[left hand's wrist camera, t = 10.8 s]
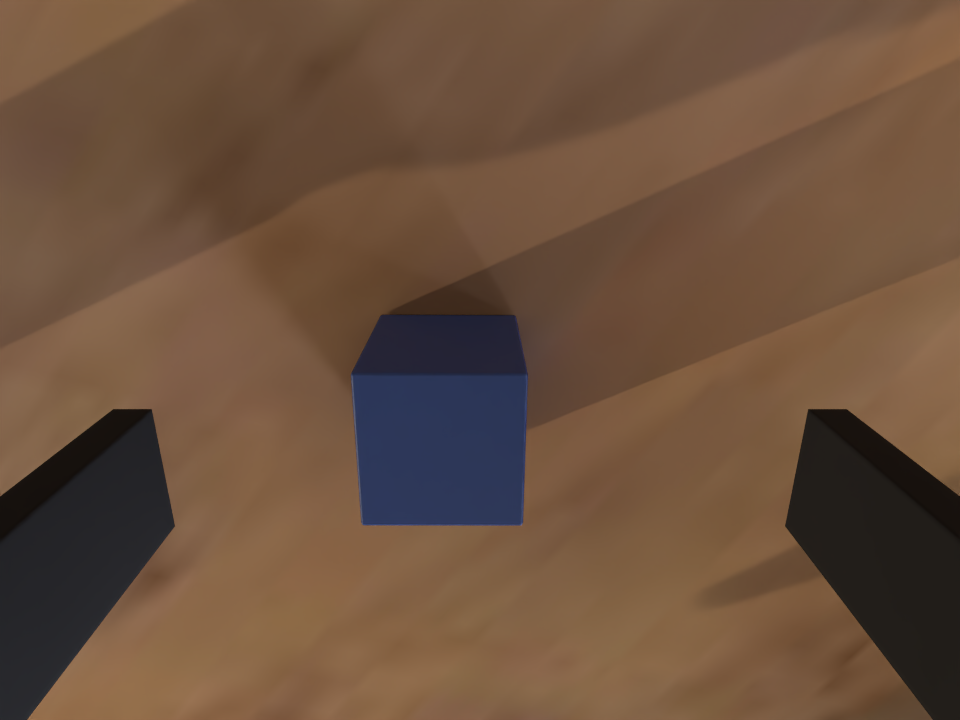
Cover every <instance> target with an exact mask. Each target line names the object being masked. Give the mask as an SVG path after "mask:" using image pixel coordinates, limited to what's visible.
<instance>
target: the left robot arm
mask: <svg viewBox="0 0 960 720" xmlns="http://www.w3.org/2000/svg"><path fill="white" fill-rule="evenodd" d="M174 527H175V525H174V520H173V514H172V509H171V504H170V499H169V494H168V489H167V484H166V479H165V474H164V469H163V464H162V459H161V454H160V449H159V444H158V439H157V434H156V429H155V424H154V419H153V414H152V409H113V410H112V411H111V412H109V413H108V414H107V415H105V416H104V417H103V418H101V419H100V420H99V421H98V422H96V423H95V424H94V425H92V426H91V427H90V428H89V429H87V430H86V431H85V432H83V433H82V434H81V435H79V436H78V437H77V438H76V439H74V440H73V441H72V442H70V443H69V444H68V445H66V446H65V447H64V448H63V449H61V450H60V451H59V452H57V453H56V454H55V455H53V456H52V457H51V458H50V459H48V460H47V461H46V462H44V463H43V464H42V465H41V466H39V467H38V468H37V469H35V470H34V471H33V472H31V473H30V474H29V475H28V476H26V477H25V478H24V479H22V480H21V481H20V482H18V483H17V484H16V485H15V486H13V487H12V488H11V489H9V490H8V491H7V492H5V493H4V494H3V495H2V496H0V720H27V719H28V718H29V716H30V715H31V714H32V712H33V711H34V710H35V708H36V707H37V706H38V705H39V703H40V702H41V701H42V699H43V698H44V697H45V695H46V694H47V693H48V691H49V690H50V689H51V688H52V686H53V685H54V684H55V682H56V681H57V680H58V678H59V677H60V676H61V674H62V673H63V672H64V671H65V669H66V668H67V667H68V665H69V664H70V663H71V661H72V660H73V659H74V657H75V656H76V655H77V653H78V652H79V651H80V650H81V648H82V647H83V646H84V644H85V643H86V642H87V640H88V639H89V638H90V636H91V635H92V634H93V633H94V631H95V630H96V629H97V627H98V626H99V625H100V623H101V622H102V621H103V619H104V618H105V617H106V616H107V614H108V613H109V612H110V610H111V609H112V608H113V606H114V605H115V604H116V602H117V601H118V600H119V599H120V597H121V596H122V595H123V593H124V592H125V591H126V589H127V588H128V587H129V585H130V584H131V583H132V582H133V580H134V579H135V578H136V576H137V575H138V574H139V572H140V571H141V570H142V568H143V567H144V566H145V564H146V563H147V562H148V561H149V559H150V558H151V557H152V555H153V554H154V553H155V551H156V550H157V549H158V547H159V546H160V545H161V544H162V542H163V541H164V540H165V538H166V537H167V536H168V534H169V533H170V532H171V530H172V529H173V528H174ZM785 527H786V528H787V529H788V530H789V532H790V533H791V534H792V536H793V537H794V538H795V540H796V541H797V542H798V544H799V545H800V546H801V547H802V549H803V550H804V551H805V553H806V554H807V555H808V557H809V558H810V559H811V561H812V562H813V563H814V564H815V566H816V567H817V568H818V570H819V571H820V572H821V574H822V575H823V576H824V578H825V579H826V580H827V582H828V583H829V584H830V585H831V587H832V588H833V589H834V591H835V592H836V593H837V595H838V596H839V597H840V599H841V600H842V601H843V602H844V604H845V605H846V606H847V608H848V609H849V610H850V612H851V613H852V614H853V616H854V617H855V618H856V619H857V621H858V622H859V623H860V625H861V626H862V627H863V629H864V630H865V631H866V633H867V634H868V635H869V636H870V638H871V639H872V640H873V642H874V643H875V644H876V646H877V647H878V648H879V650H880V651H881V652H882V654H883V655H884V656H885V657H886V659H887V660H888V661H889V663H890V664H891V665H892V667H893V668H894V669H895V671H896V672H897V673H898V674H899V676H900V677H901V678H902V680H903V681H904V682H905V684H906V685H907V686H908V688H909V689H910V690H911V691H912V693H913V694H914V695H915V697H916V698H917V699H918V701H919V702H920V703H921V705H922V706H923V707H924V708H925V710H926V711H927V712H928V714H929V715H930V716H931V718H932V719H933V720H960V496H958V495H957V494H956V493H954V492H953V491H952V490H951V489H949V488H948V487H947V486H945V485H944V484H943V483H942V482H940V481H939V480H938V479H936V478H935V477H934V476H932V475H931V474H930V473H929V472H927V471H926V470H925V469H923V468H922V467H921V466H919V465H918V464H917V463H916V462H914V461H913V460H912V459H910V458H909V457H908V456H907V455H905V454H904V453H903V452H901V451H900V450H899V449H897V448H896V447H895V446H894V445H892V444H891V443H890V442H888V441H887V440H886V439H884V438H883V437H882V436H881V435H879V434H878V433H877V432H875V431H874V430H873V429H871V428H870V427H869V426H868V425H866V424H865V423H864V422H862V421H861V420H860V419H859V418H857V417H856V416H855V415H853V414H852V413H851V412H849V411H848V410H847V409H808V414H807V419H806V424H805V429H804V434H803V439H802V444H801V449H800V454H799V459H798V464H797V469H796V474H795V479H794V484H793V489H792V494H791V499H790V504H789V509H788V514H787V520H786V525H785Z"/></svg>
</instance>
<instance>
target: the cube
mask: <svg viewBox="0 0 960 720" xmlns="http://www.w3.org/2000/svg"><path fill="white" fill-rule="evenodd" d="M351 384H352V399H353V413H354V427H355V441H356V455H357V469H358V483H359V497H360V511H361V523H362V525H522V523H523V507H524V477H525V447H526V417H527V388H528V374H527V369H526V364H525V359H524V354H523V349H522V344H521V339H520V335H519V330H518V325H517V320H516V316H514V315H381V316H380V318H379V320H378V322H377V324H376V326H375V328H374V330H373V332H372V334H371V336H370V338H369V340H368V342H367V344H366V346H365V348H364V350H363V352H362V354H361V356H360V357H359V359H358V361H357V363H356V365H355V367H354V369H353V371H352V373H351Z"/></svg>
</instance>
